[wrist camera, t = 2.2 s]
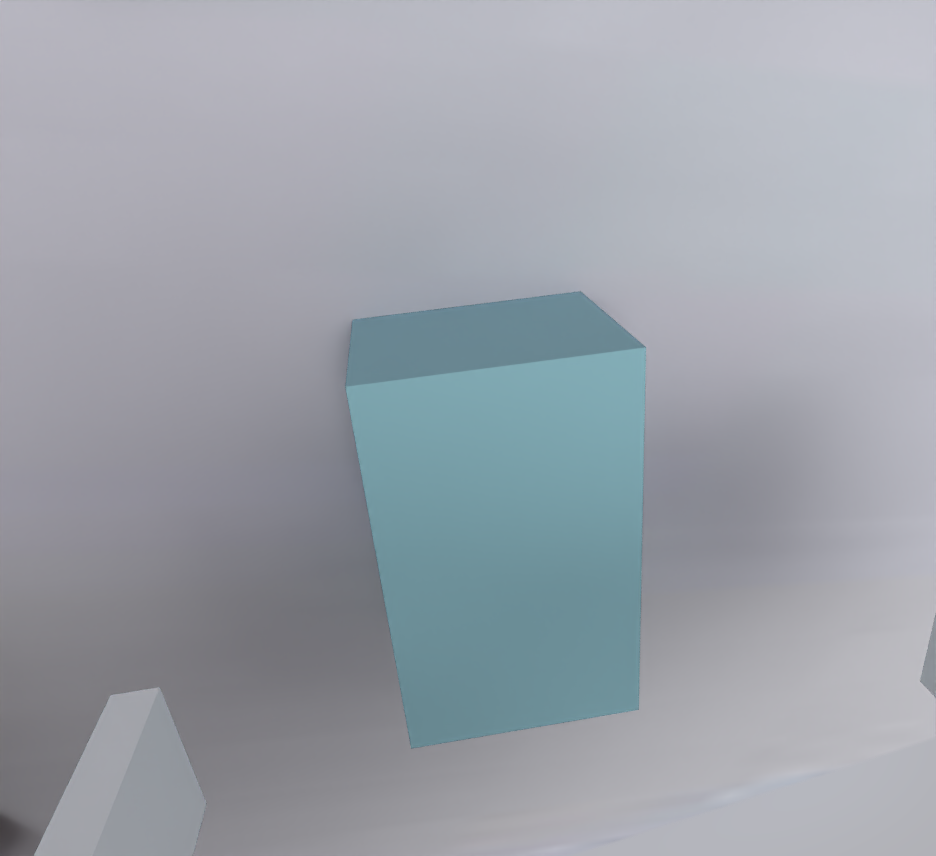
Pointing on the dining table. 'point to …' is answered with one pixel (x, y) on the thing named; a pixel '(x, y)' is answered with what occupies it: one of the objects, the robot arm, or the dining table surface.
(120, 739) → the robot arm
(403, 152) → the dining table surface
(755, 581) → the dining table surface
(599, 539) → the box
